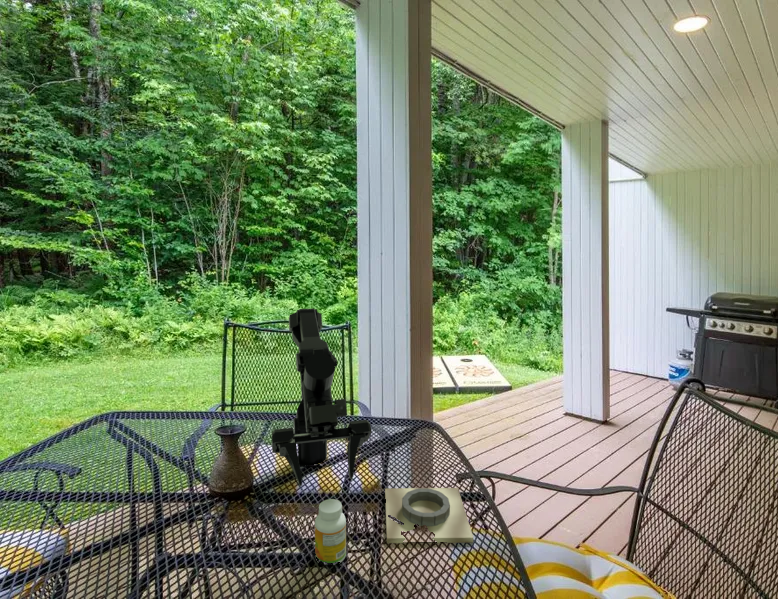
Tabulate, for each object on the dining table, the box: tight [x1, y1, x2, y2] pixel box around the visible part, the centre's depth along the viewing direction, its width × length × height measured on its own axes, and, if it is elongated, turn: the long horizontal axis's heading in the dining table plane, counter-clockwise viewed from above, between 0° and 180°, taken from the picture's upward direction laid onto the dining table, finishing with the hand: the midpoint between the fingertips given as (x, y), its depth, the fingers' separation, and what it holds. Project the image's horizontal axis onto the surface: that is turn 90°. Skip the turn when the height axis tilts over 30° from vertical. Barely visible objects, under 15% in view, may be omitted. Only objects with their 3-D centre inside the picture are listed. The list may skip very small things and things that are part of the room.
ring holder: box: [384, 487, 474, 544], centre depth 90 cm, size 16×16×3 cm
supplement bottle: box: [314, 498, 347, 563], centre depth 79 cm, size 5×5×10 cm
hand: (326, 481), depth 82 cm, fingers open, 9 cm apart
